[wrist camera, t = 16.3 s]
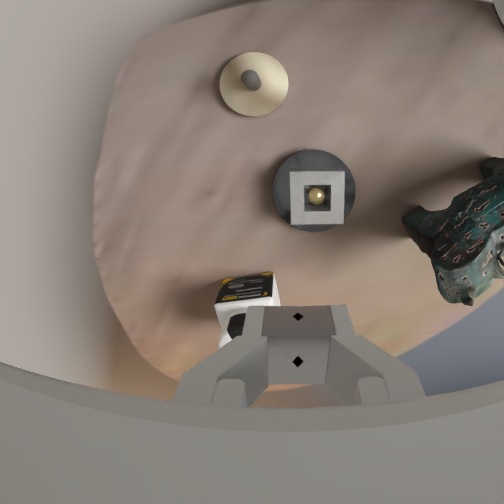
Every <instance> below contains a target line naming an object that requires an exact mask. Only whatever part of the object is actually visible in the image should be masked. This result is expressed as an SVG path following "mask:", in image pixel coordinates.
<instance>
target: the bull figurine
mask: <svg viewBox="0 0 504 504" xmlns="http://www.w3.org/2000/svg"><path fill="white" fill-rule="evenodd" d="M480 170H481V172H482V175H483V177H484V179H485V180H484V181H483V182H481V183H479V184H477V185H475V186H473V187H471V188H469V189H468V190H466V191H464V192H462V193H461V194H459V195H457V196H455V197H454V198H453V200H452V203H451V205H450V206H449V207H448V208H447V209H445V210H439V211H427V210H425V209H424V208H423V207H421V206H418V207H417V208H415V209H414V210H413V211H412V212H411V213H409V214H408V215H406V216H404V217H402V221H403V223H404V225H405V227H406V229H407V231H408V233H409V235H410V237H411V239H413V240H414V242H415V243H416V244H417V245H418V246H419V248H420V250H421V251H422V252H423V253H426V254H427V255H428V256H429V257H430V259H431V263H432V266H433V269H434V272H435V276H436V281H437V286H438V290H439V292H440V294H441V295H442V296H443V298H444V299H445V300H446V301H447V302H449V303H463V304H464V305H469V306H472V305H473V303H474V298H476V297H477V296H479V295H480V294H482V293H483V292H484V291H485V290H486V289H488V288H489V287H490V285H491V284H492V283H493V281H494V279H495V278H504V271H503V270H502V269H501V267H500V265H499V263H498V260H499V262H500V263H501V265H503V266H504V262H503V260H502V259H501V257H502V256H504V158H497V157H492V158H490V159H488V160H486V161H485V162H484V163H482V164H481V166H480Z"/></svg>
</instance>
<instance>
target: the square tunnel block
mask: <svg viewBox="0 0 504 504" xmlns="http://www.w3.org/2000/svg"><path fill="white" fill-rule="evenodd" d="M289 178H290V217H291V225H299V224H344V187H345V171H343V170H342V169H341V168H289ZM304 185H328V194H327V205H304Z"/></svg>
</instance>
